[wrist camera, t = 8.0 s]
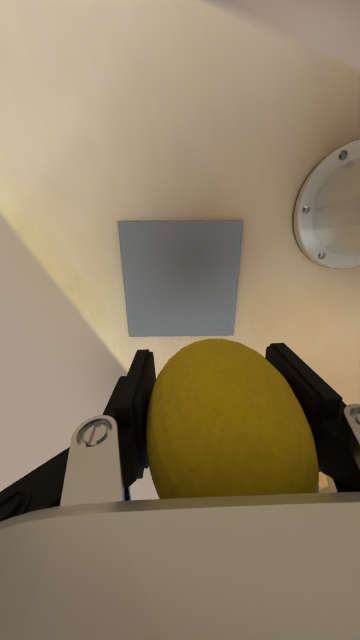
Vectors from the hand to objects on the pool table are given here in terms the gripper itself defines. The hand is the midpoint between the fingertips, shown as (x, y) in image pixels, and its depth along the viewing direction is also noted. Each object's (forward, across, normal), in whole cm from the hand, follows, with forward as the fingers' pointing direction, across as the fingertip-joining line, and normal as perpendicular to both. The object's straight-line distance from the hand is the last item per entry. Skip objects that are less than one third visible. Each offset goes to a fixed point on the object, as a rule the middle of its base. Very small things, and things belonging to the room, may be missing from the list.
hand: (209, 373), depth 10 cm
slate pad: (+17, +1, -2) cm, 17 cm away
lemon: (+1, 0, 0) cm, 2 cm away
